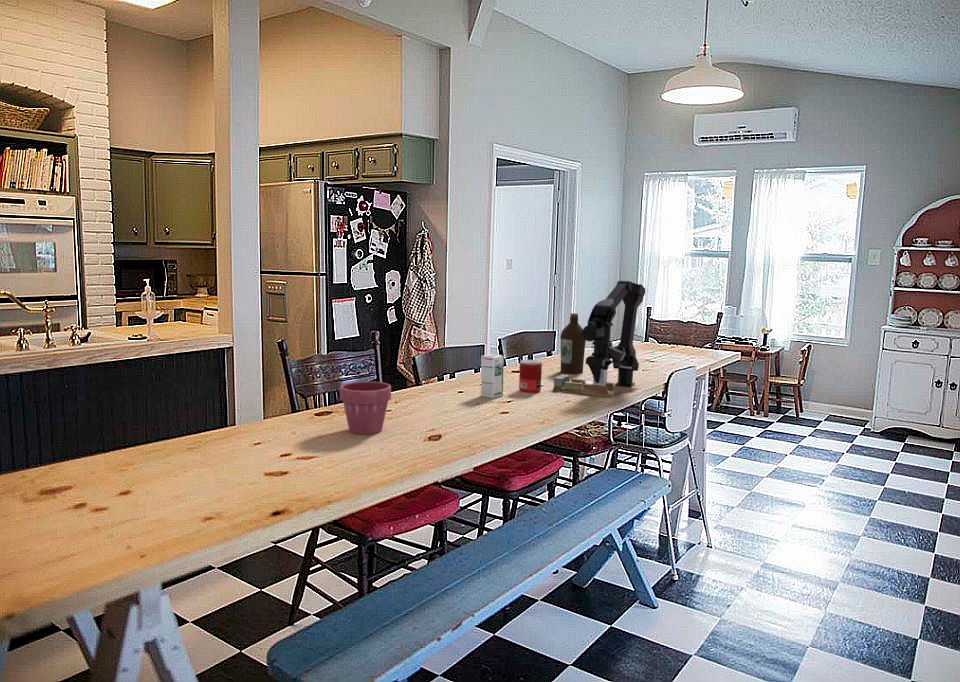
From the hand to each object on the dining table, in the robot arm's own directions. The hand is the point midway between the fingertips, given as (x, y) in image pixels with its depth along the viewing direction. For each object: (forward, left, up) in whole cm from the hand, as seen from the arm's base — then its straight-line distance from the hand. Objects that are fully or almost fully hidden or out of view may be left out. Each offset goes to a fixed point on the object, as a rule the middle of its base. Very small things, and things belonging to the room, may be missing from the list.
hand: (600, 381), depth 262 cm
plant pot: (+89, -41, -5) cm, 98 cm away
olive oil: (-36, -23, -5) cm, 43 cm away
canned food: (+11, -23, -5) cm, 26 cm away
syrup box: (+27, -31, -5) cm, 41 cm away
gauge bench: (0, -5, -4) cm, 7 cm away
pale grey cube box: (+1, -2, -3) cm, 4 cm away
